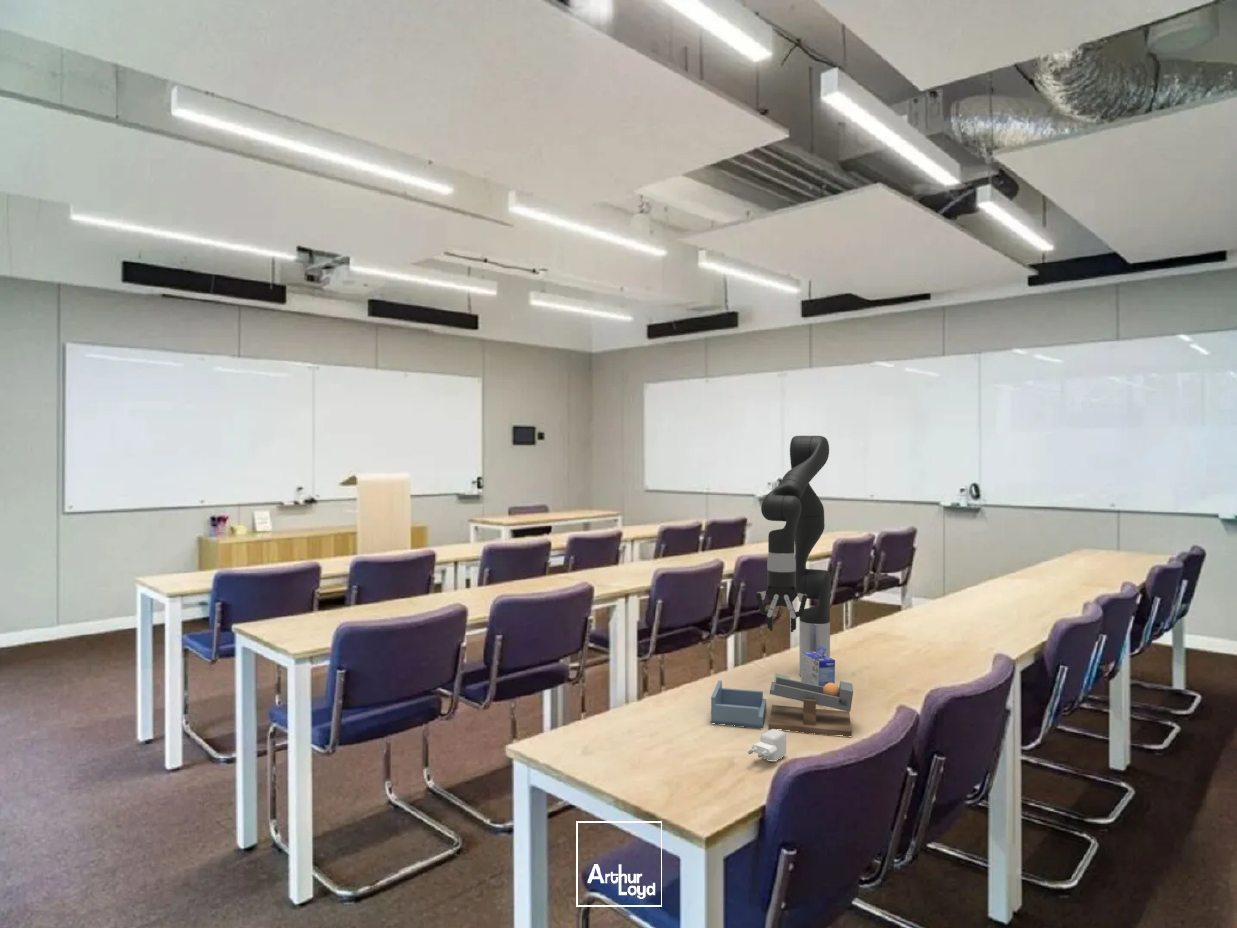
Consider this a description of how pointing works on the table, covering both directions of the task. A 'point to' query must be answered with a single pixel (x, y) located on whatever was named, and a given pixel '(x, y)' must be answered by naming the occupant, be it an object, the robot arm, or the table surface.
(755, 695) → the bin
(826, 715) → the lever stand
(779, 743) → the power adapter
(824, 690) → the ball
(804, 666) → the ink cartridge box
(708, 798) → the table surface
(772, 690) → the lever
